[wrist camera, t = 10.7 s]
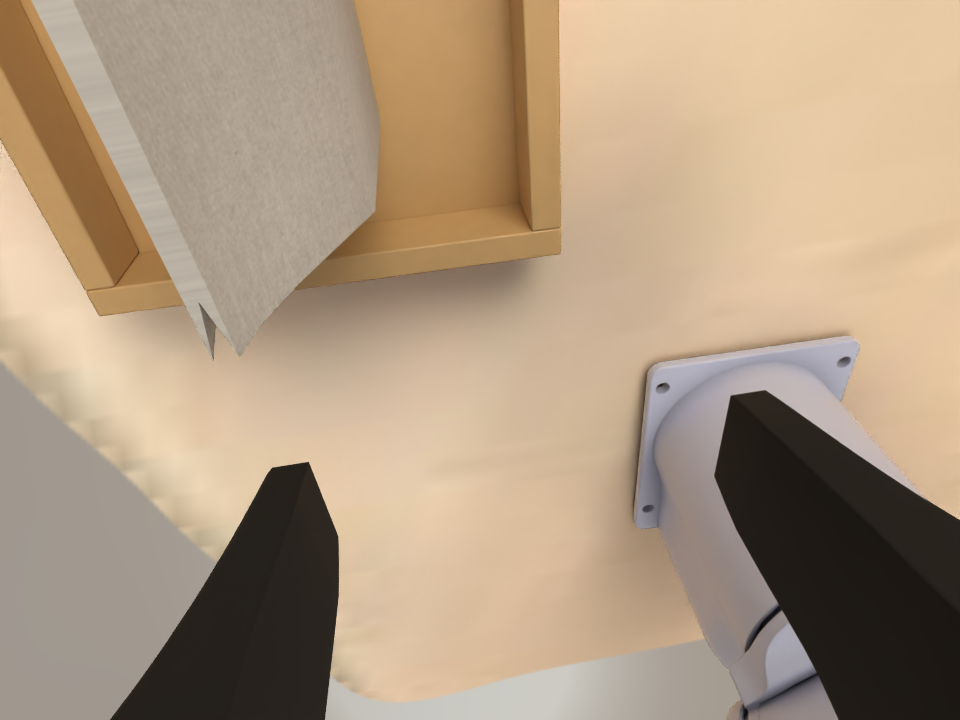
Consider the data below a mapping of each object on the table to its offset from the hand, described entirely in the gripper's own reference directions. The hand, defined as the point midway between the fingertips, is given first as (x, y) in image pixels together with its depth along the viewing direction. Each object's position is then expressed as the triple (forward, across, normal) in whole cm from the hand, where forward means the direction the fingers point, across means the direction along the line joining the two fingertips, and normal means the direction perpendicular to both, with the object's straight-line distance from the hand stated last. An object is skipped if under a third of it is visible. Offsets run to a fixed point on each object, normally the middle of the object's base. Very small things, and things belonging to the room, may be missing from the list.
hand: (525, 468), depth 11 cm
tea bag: (+10, +4, -7) cm, 13 cm away
